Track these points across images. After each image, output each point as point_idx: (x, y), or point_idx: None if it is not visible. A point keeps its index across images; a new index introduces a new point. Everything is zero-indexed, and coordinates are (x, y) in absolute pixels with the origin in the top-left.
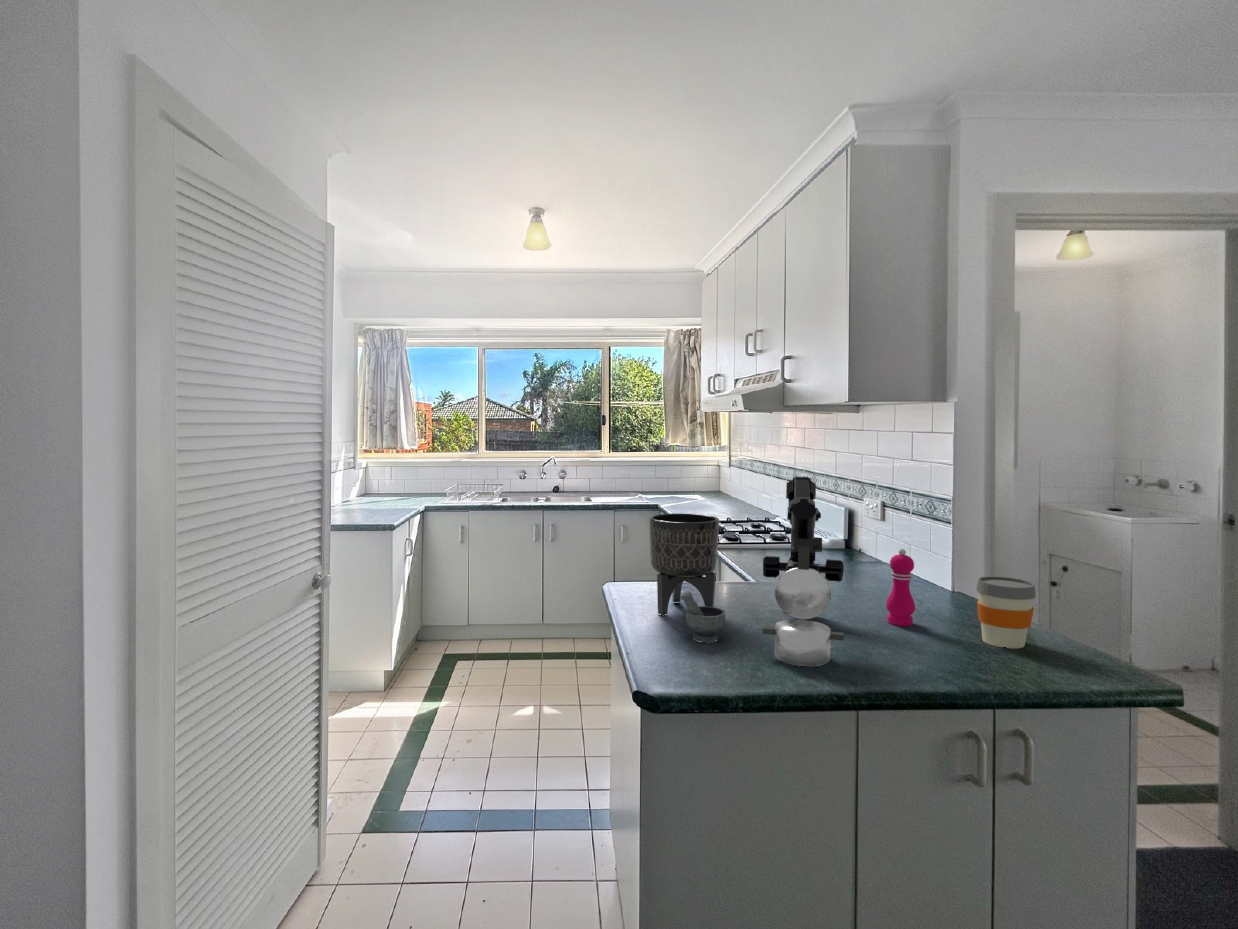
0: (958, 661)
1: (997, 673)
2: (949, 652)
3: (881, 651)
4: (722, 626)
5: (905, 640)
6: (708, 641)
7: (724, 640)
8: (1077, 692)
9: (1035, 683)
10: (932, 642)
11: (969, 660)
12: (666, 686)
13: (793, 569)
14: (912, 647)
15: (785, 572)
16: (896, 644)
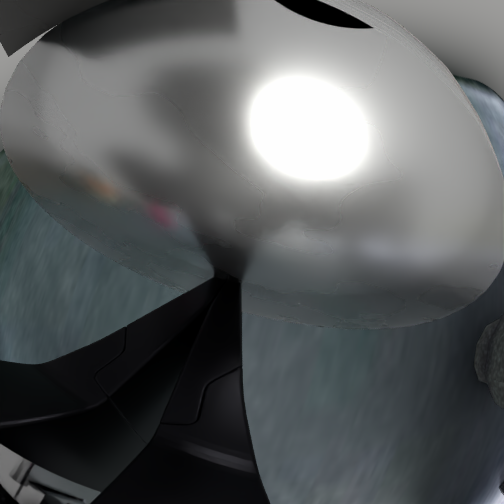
0: (13, 229)
1: (11, 187)
2: (3, 272)
3: (74, 279)
4: (497, 333)
5: (24, 345)
6: (496, 321)
7: (462, 353)
8: (4, 150)
9: (9, 163)
10: (2, 326)
11: (4, 235)
12: (495, 109)
13: (373, 7)
14: (26, 302)
15: (498, 163)
16: (39, 323)
